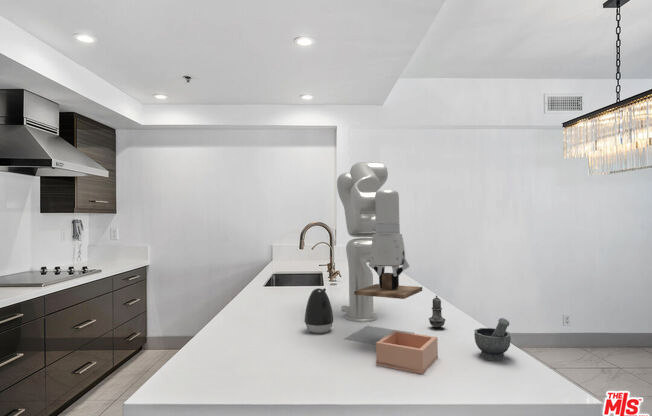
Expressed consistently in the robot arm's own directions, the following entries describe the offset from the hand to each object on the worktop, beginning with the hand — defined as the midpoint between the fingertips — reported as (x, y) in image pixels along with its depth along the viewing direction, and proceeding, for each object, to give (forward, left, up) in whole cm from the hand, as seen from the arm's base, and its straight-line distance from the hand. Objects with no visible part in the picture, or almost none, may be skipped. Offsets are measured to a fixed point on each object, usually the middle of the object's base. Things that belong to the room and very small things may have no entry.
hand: (389, 287), depth 124 cm
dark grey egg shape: (-28, +2, -18) cm, 33 cm away
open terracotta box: (+9, -10, -18) cm, 23 cm away
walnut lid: (0, 0, -2) cm, 2 cm away
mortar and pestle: (+29, +5, -18) cm, 35 cm away
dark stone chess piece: (+7, +25, -18) cm, 32 cm away
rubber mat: (-7, +7, -18) cm, 20 cm away
